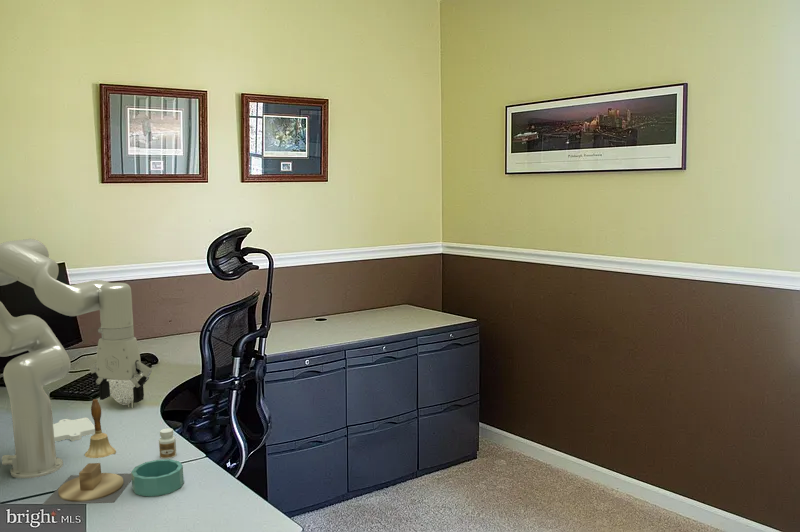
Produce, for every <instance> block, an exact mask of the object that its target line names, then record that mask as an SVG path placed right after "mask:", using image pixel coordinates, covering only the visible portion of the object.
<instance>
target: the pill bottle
mask: <svg viewBox="0 0 800 532" xmlns="http://www.w3.org/2000/svg"><path fill="white" fill-rule="evenodd" d="M159 436H160V437H159V439H158V446H159V447H158V448H159V458H160V459H161V460H162V459H173V458H175V457H176V456H177V444H176V441H177V440H176V437H175V436H174V429H173V428H170V427H169V428H168V427H167V428H162V429H161V430H160V431H159Z"/></svg>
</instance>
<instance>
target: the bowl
mask: <svg viewBox="0 0 800 532" xmlns="http://www.w3.org/2000/svg"><path fill="white" fill-rule="evenodd" d="M130 473H131V477H132V480H131V488H132V491H133V492H134V494H135V495H139V496H142V497H159V496H163V495H164V496H165V495H168V494H171V493H174V492H176V491H177V490H179V489H180V488H182V487H183V484H184V482H185V481H184V479H185V477H184V465H183V464H182V463H181V461H180V460H175V459H172V458H169V459H162V458H161V459H155V460H149V461H145V462H143V463H140V464H138V465H136V466H135V467H134V468H133V469H132V470H131V471H130Z"/></svg>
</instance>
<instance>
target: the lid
mask: <svg viewBox="0 0 800 532" xmlns="http://www.w3.org/2000/svg"><path fill="white" fill-rule="evenodd" d="M101 468H102V467H101V462H90V463H87V464H86V465H85V466H84V467H83V468H82V470H80V471H79V473H78V475H79V477H77V478H74V479H72V480H70V481H68V482H66V483H64V482H63V483H64V484H63V483H62V484H63V485H62V484H61V485H62V486H61V485H60V486H61V487H60V486H59V487H60V488H59V487H58V488H59V490H58V494H59V497H60V498H61V499H63V500H66V501H73V502H82V501H91V500H96V499H100V498H103V497H106V496H109V495H111V494H113V493H115V492H117V491H118V490H120V489H121V488H122V486H123V484H124V483H123V478H122V477H121V476H119V475H117V474H118V473H111V472H102V469H101Z"/></svg>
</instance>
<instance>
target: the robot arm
mask: <svg viewBox="0 0 800 532" xmlns="http://www.w3.org/2000/svg"><path fill="white" fill-rule="evenodd" d="M58 276H59V264H58V263H57V261H55V260H54V259H52V258H51V257H50V254H49V251H48V248H47V246H46V245H45V244H44V243H42V242H41V241H39V240H38V239H34V238H26V239H18V240H9V241H4V242H2V243H0V286H6V285H10V284H13V283H16V282H17V281H18V282H20V283H22V284H24V285H26V286H28V287H30V288H31V289H33V291H34V293H35V295H36V298H37V299H38V300H39V302H40V303H41V304H42V305H44V306H45V307H47V308H49V309H51V310H53V311H55V312H57V313H59V314H62V315H64V316H69V317H77V316H82V315H84V314H87V313H91V312H97V311H99V317H100V327H98V328H97V332H98V333H99V334H100V335H101V338H99V339H98V341H97V349H96V361H95V362H94V363H92V364H89V365H88V370H89V372H90V373H91V377H92V378H93V379H94V380H95V382H96V383H95V384H97V385H98V394H99V400H101V401H103V400H105V399H107V398H109V397H110V396H111V393H110V386H109V381H107V379H111V380H131V381H132V382H131V383H133V384H134V387H133V397H134V400H133V402H134V403H133V404H136V403H137V404H138V403H139V402H141V401H143V400H144V397H145V392H144V391H145V390H144V385H145V384H146V383H147V382H148V380H149V379H150V377H151V374H152V371H153V370H152V368H150V367H149V366H147V365H146V364H144V363H143V362H141V353H140V348H139V343H138V339H137V337H135V332H134V331H135V330H134V316H133V311H134V310H133V296H132V288H131V286H130V284H128V283H126V282H110V281H109V282H108V281H106V280H102V279H101V280H100V279H99V280H98V279H94V280H91V281H85V282H80V283H76V284H75V283H74V284H71V285H69V284H66V283H64V282H61V281H59V280H57V279H58ZM27 351H28V352H27ZM24 352H27V353H24ZM21 353H23V354H21ZM18 354H20V355H18ZM14 355H18V356H15V357H14V358H12V359H10V360H9V361H8V362H7V363H6V365H5V367H4V369H3V381H4V383H5V387H6V390H7V393H8V397H9V398H8V399H9V401H10V410H11V419H12V421H11V422H12V430H13V431H12V432H13V439H14V440H13V441H14V449H15V450H14V451H15V453H14V455H12V454H4V455H2V457H1V463H2V466H9V465H11V466H12V467H11V468H10V475H11V477H12V478H14V479H15V478H16V479H34V478H40V477H45V476H48V475H51V474H53V473H55V472H58V471H59V470H60V469H62V467H63V466H64V461H63V459H62V458H59V457H57V454H56V453H57V452H56V442H55V439H54V428H53V424H54V418H53V417H54V416H53V409H52V407H53V406H52V401H51V399H50V396H49V395H48V394H47V393H46V391H45V389H44V387H45V386H47V385H49V384H52V383H54V382H56V381H59V380H61V379H63V378H65V377H66V376H67V375H68V374H69V373H70V370H71V359H70V356H69V355H68V352H67V351H66V349H65V347H64V346H63V345H62V343H61V341H60V340H59V339H58V337H56V334H55V333H54V332H53V330H52V328H51V327H50V326H49V325H48V323H47V322H46V321H45V320H44V319H42V318H41V317H40V316H37V315H34V314H24V315H20V316H13V315H11V313H10V312H9V311H8V310H7V308H6V307H5V305H4V304H3V302H2V301H0V357H2V358H4V357H9V356H14ZM141 372H142V376H141V375H140V374H141Z"/></svg>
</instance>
